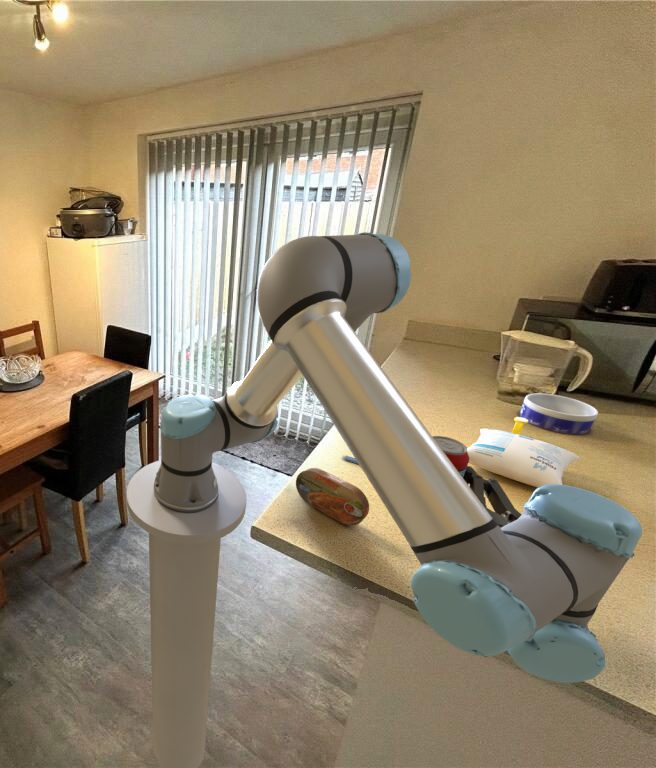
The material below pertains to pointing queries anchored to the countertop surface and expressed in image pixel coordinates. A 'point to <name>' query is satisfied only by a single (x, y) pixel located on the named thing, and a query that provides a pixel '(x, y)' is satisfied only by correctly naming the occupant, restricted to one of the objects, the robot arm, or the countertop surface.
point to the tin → (332, 496)
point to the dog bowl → (558, 413)
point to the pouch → (520, 457)
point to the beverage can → (454, 452)
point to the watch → (519, 425)
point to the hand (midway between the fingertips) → (428, 455)
